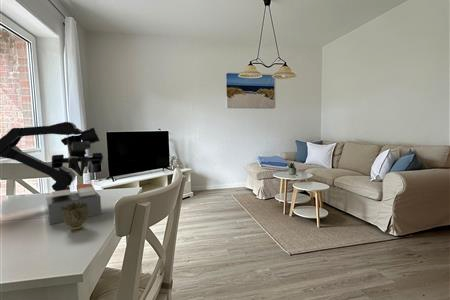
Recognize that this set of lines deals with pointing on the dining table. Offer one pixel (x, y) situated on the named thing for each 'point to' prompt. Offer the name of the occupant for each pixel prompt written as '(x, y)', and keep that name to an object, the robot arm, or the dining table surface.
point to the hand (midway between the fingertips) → (81, 175)
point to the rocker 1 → (60, 193)
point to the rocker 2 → (85, 189)
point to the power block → (57, 202)
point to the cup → (75, 215)
